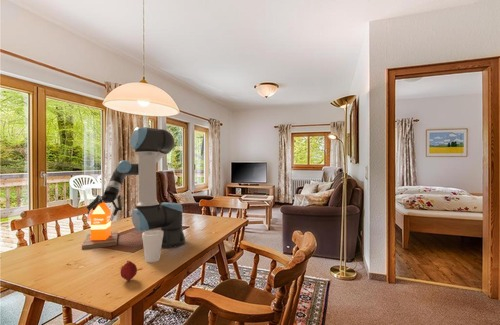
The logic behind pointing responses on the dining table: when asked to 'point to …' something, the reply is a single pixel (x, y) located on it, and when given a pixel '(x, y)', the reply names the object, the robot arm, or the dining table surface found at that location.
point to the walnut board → (100, 241)
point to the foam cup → (152, 244)
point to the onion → (128, 270)
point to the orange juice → (100, 222)
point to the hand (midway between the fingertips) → (99, 219)
